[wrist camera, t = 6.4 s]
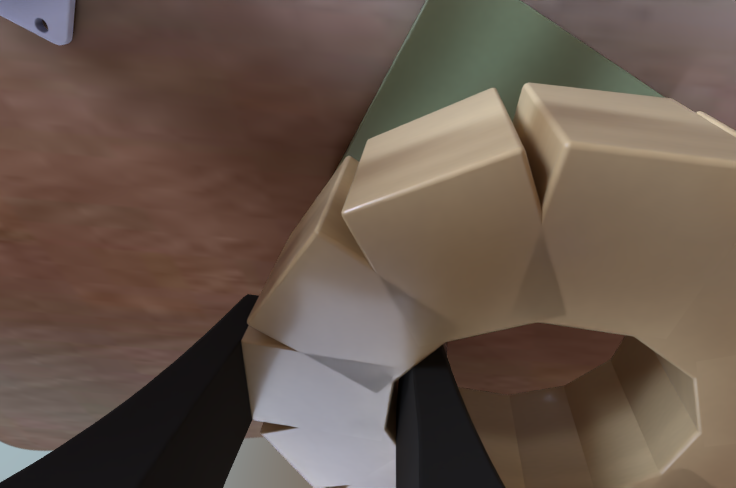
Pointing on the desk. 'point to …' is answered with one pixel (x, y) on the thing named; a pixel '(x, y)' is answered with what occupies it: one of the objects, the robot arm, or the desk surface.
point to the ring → (515, 291)
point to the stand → (482, 63)
